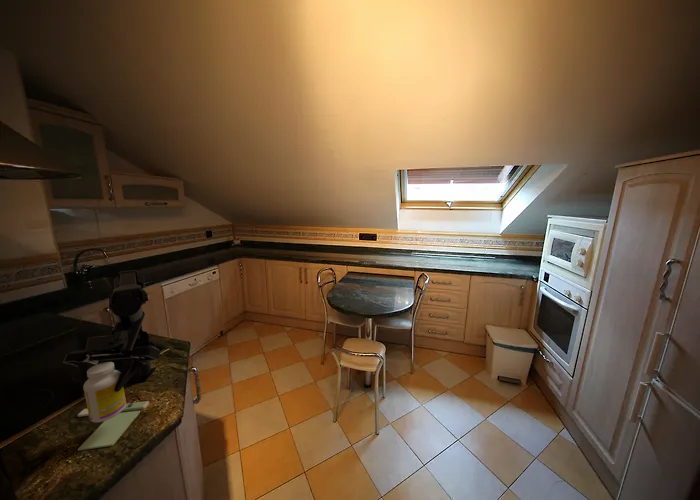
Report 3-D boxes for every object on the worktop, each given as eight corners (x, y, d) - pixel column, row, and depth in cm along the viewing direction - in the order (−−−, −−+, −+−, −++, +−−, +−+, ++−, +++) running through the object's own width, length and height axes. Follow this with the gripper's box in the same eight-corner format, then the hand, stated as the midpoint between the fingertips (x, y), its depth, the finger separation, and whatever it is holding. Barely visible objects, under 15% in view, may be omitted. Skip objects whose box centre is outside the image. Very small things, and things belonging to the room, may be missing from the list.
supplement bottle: (133, 402, 64) (126, 358, 62) (109, 423, 58) (101, 376, 56) (108, 402, 64) (100, 359, 62) (81, 424, 58) (71, 376, 55)
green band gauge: (84, 410, 67) (83, 407, 67) (149, 403, 70) (148, 399, 70) (33, 457, 54) (32, 452, 54) (115, 445, 57) (114, 441, 57)
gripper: (63, 322, 59) (21, 395, 50) (148, 317, 62) (123, 384, 54) (95, 335, 68) (64, 399, 59) (168, 330, 71) (149, 390, 63)
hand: (99, 393), depth 58 cm, fingers closed on supplement bottle, 7 cm apart
